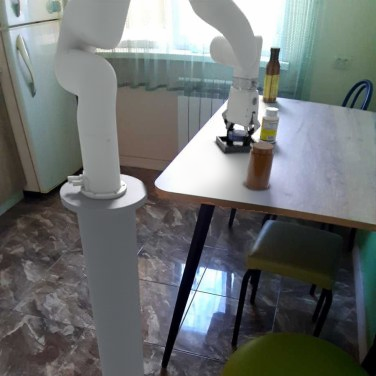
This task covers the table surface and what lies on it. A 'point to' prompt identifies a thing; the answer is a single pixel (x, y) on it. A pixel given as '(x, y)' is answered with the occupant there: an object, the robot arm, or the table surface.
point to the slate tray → (233, 145)
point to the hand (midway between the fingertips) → (237, 144)
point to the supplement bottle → (269, 125)
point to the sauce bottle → (272, 76)
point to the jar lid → (236, 135)
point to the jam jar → (259, 165)
